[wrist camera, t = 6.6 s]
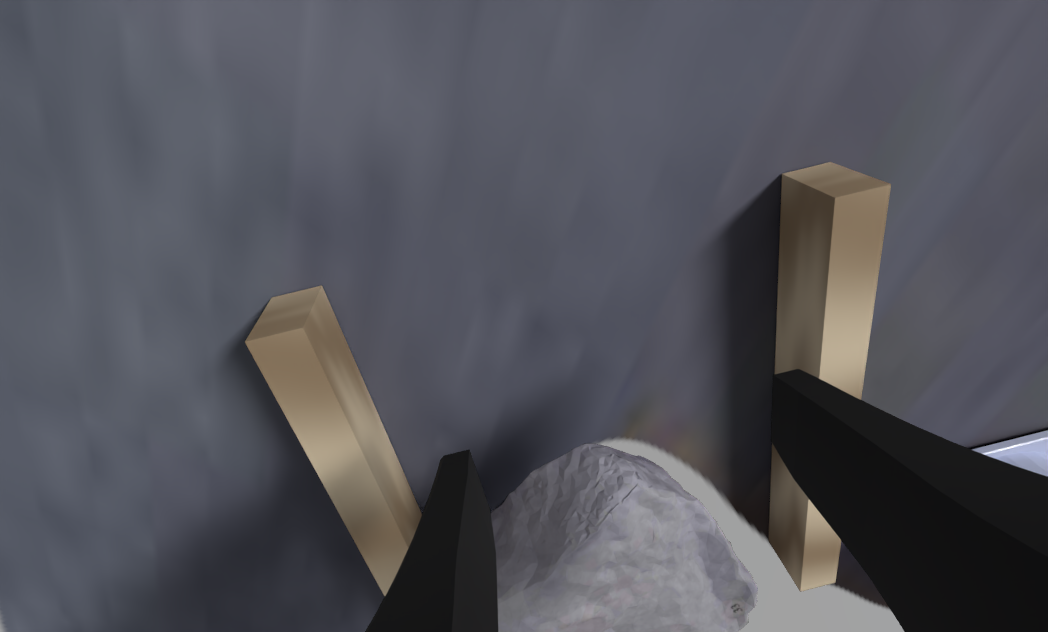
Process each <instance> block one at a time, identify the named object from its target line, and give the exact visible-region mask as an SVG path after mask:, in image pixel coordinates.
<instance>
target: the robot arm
mask: <svg viewBox="0 0 1048 632" xmlns="http://www.w3.org/2000/svg"><path fill="white" fill-rule="evenodd" d="M771 442H772V443H773V445H774V447H775V449H776V450H777V452H778V454H779V456H780V457H781V459H782V461H783V462H784V464H785V466H786V467H787V469H788V471H789V472H790V474H791V475H792V477H793V479H794V480H795V481H796V483H797V484H798V485H799V487H800V488H801V489H802V491H803V492H804V493H805V494H806V496H807V497H808V498H809V500H810V501H811V502H812V504H813V505H814V506H815V507H816V509H817V510H818V511H819V513H820V514H821V515H822V516H823V518H824V519H825V520H826V521H827V523H828V524H829V525H830V527H831V528H832V529H833V530H834V532H835V533H836V534H837V535H838V537H839V538H840V539H841V541H842V542H843V543H844V544H845V546H846V547H847V548H848V549H849V551H850V552H851V553H852V555H853V556H854V557H855V558H856V560H857V561H858V562H859V564H860V565H861V566H862V568H863V569H864V570H865V572H866V573H867V575H868V576H869V577H870V579H871V580H872V581H873V583H874V584H875V586H876V588H877V589H878V591H879V592H880V594H881V595H882V597H883V598H884V600H885V602H886V603H887V605H888V606H889V608H890V609H891V611H892V612H893V614H894V615H895V617H896V619H897V620H898V621H899V623H900V625H901V626H902V628H903V630H904V631H905V632H1048V430H1046V431H1042V432H1039V433H1035V434H1031V435H1027V436H1023V437H1019V438H1015V439H1011V440H1007V441H1003V442H999V443H995V444H991V445H987V446H983V447H979V448H976V449H972V450H971V449H968V448H966V447H963V446H961V445H958V444H956V443H953V442H951V441H948V440H946V439H944V438H942V437H939V436H937V435H935V434H932V433H930V432H928V431H925V430H923V429H921V428H919V427H916V426H914V425H912V424H910V423H908V422H905V421H903V420H901V419H899V418H897V417H895V416H893V415H891V414H888V413H886V412H884V411H882V410H880V409H878V408H876V407H874V406H872V405H870V404H868V403H866V402H864V401H862V400H860V399H858V398H856V397H854V396H852V395H850V394H848V393H846V392H844V391H842V390H840V389H838V388H837V387H835V386H833V385H831V384H829V383H827V382H825V381H823V380H821V379H819V378H817V377H815V376H813V375H811V374H809V373H807V372H805V371H803V370H800V369H795V370H791V371H787V372H783V373H779V374H775V375H773V389H772V422H771ZM365 632H498V598H497V566H496V549H495V541H494V534H493V527H492V520H491V513H490V508H489V505H488V503H487V500H486V497H485V494H484V491H483V488H482V485H481V482H480V479H479V476H478V473H477V470H476V467H475V464H474V462H473V459H472V456H471V453H470V450H466V451H462V452H457V453H453V454H449V455H445V456H443V458H442V459H441V460H440V463H439V467H438V470H437V474H436V477H435V480H434V483H433V486H432V489H431V492H430V495H429V498H428V501H427V504H426V506H425V509H424V512H423V514H422V517H421V519H420V522H419V524H418V527H417V529H416V532H415V534H414V537H413V539H412V541H411V544H410V546H409V548H408V550H407V552H406V555H405V557H404V559H403V561H402V563H401V565H400V568H399V570H398V572H397V574H396V576H395V578H394V580H393V582H392V584H391V586H390V588H389V590H388V592H387V594H386V596H385V598H384V599H383V601H382V603H381V605H380V607H379V608H378V610H377V612H376V614H375V616H374V617H373V619H372V621H371V623H370V624H369V626H368V628H367V629H366V631H365Z"/></svg>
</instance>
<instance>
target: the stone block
mask: <svg viewBox="0 0 1048 632" xmlns="http://www.w3.org/2000/svg"><path fill="white" fill-rule="evenodd" d="M491 520H492V527H493V534H494V541H495V549H496V566H497V598H498V632H738V631H739V630H740V629H742V628H743V627H744V626H745V625H746V624H747V623H748V622H749V619H748V613H749V612H750V611H751V610H752V609H753V608H754V607H755V605H756V603H757V591H758V588H757V585H756V583H755V581H754V580H753V577H752V576H751V574H750V573H749V571H748V570H747V569H746V568H745V566H744V565H743V564H742V563H741V561H740V560H739V559H738V558H737V556H736V554H735V553H734V552H733V549H732V545H731V543H730V542H729V541H728V540H727V539H726V537H725V535H724V533H723V531H722V530H721V529H720V527H719V526H718V524H717V522H716V521H715V520H714V518H713V517H712V516H711V515H710V513H709V512H708V510H707V509H706V508H705V506H704V505H703V504H702V503H701V502H700V501H699V500H698V499H697V498H695V497H694V496H692V495H691V494H689V493H687V492H686V491H685V490H683V488H682V487H681V485H680V484H679V483H678V482H676V481H675V480H674V479H673V478H671V477H670V475H669V474H668V473H667V472H666V471H665V470H664V469H663V468H662V467H660V466H658V465H656V464H655V463H654V462H652V461H650V460H648V459H646V458H644V457H642V456H639V455H638V456H635V455H631V454H628V453H626V452H623V451H620V450H617V449H614V448H611V447H607V446H603V445H598V444H583V445H581V446H579V447H577V448H574V449H572V450H571V451H570V452H568V453H567V454H565V455H563V456H561V457H559V458H557V459H555V460H553V461H551V462H549V463H547V464H544V465H543V466H541V467H540V468H538V469H536V470H534V471H532V472H531V473H530V475H529V476H528V477H527V478H526V479H525V480H524V481H523V482H522V483H521V484H520V486H519V487H518V488H516V489H515V491H513V492H511V493H510V494H509V495H508V496H507V498H506V500H505V501H504V503H503V504H502V505H501V506H500V507H498V508H497V509H495V510H494V511H493V512H492V513H491Z"/></svg>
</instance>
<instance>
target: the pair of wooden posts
mask: <svg viewBox="0 0 1048 632" xmlns="http://www.w3.org/2000/svg"><path fill="white" fill-rule="evenodd" d="M890 188H891V184H889V183H886V182H884V181H881V180H878V179H875V178H873V177H870V176H867V175H864V174H862V173H859V172H856V171H853V170H851V169H848V168H845V167H843V166H840V165H837V164H834V163H832V162H829V163H825V164H821V165H816V166H812V167H808V168H804V169H800V170H796V171H792V172H788V173H783V174H782V189H781V216H780V243H779V270H778V297H777V325H776V352H775V374H779V373H783V372H787V371H791V370H795V369H800V370H803V371H805V372H807V373H809V374H811V375H813V376H815V377H817V378H819V379H821V380H823V381H825V382H827V383H829V384H831V385H833V386H835V387H837V388H838V389H840V390H842V391H844V392H846V393H848V394H850V395H852V396H854V397H856V398H858V399H860V400H861V396H862V388H863V381H864V374H865V367H866V360H867V353H868V345H869V338H870V331H871V324H872V317H873V310H874V302H875V295H876V288H877V281H878V274H879V267H880V259H881V252H882V245H883V238H884V231H885V224H886V216H887V209H888V202H889V195H890ZM245 343H246V345H247V347H248V349H249V351H250V352H251V354H252V356H253V358H254V360H255V361H256V363H257V365H258V367H259V369H260V371H261V372H262V374H263V376H264V378H265V380H266V381H267V383H268V385H269V387H270V389H271V391H272V392H273V394H274V396H275V398H276V400H277V401H278V403H279V405H280V407H281V409H282V411H283V412H284V414H285V416H286V418H287V420H288V421H289V423H290V425H291V427H292V429H293V431H294V432H295V434H296V436H297V438H298V440H299V442H300V443H301V445H302V447H303V449H304V451H305V452H306V454H307V456H308V458H309V460H310V462H311V463H312V465H313V467H314V469H315V471H316V472H317V474H318V476H319V478H320V480H321V482H322V483H323V485H324V487H325V489H326V491H327V492H328V494H329V496H330V498H331V500H332V502H333V503H334V505H335V507H336V509H337V511H338V512H339V514H340V516H341V518H342V520H343V522H344V523H345V525H346V527H347V529H348V531H349V532H350V534H351V536H352V538H353V540H354V542H355V543H356V545H357V547H358V549H359V551H360V553H361V554H362V556H363V558H364V560H365V562H366V563H367V565H368V567H369V569H370V571H371V573H372V574H373V576H374V578H375V580H376V582H377V583H378V585H379V587H380V589H381V591H382V593H383V594H384V596H386V594H387V592H388V590H389V588H390V586H391V584H392V582H393V580H394V578H395V576H396V574H397V572H398V570H399V568H400V565H401V563H402V561H403V559H404V557H405V555H406V552H407V550H408V548H409V546H410V544H411V541H412V539H413V537H414V534H415V532H416V529H417V527H418V524H419V522H420V519H421V517H422V513H421V511H420V509H419V507H418V504H417V502H416V500H415V497H414V495H413V493H412V491H411V488H410V486H409V484H408V481H407V479H406V477H405V475H404V472H403V470H402V468H401V465H400V463H399V461H398V459H397V456H396V454H395V452H394V449H393V447H392V445H391V443H390V440H389V438H388V436H387V433H386V431H385V429H384V427H383V424H382V422H381V420H380V417H379V415H378V413H377V410H376V408H375V406H374V404H373V401H372V399H371V397H370V394H369V392H368V390H367V388H366V385H365V383H364V381H363V378H362V376H361V374H360V372H359V369H358V367H357V365H356V362H355V360H354V358H353V356H352V353H351V351H350V349H349V346H348V344H347V342H346V340H345V337H344V335H343V333H342V330H341V328H340V326H339V324H338V321H337V319H336V317H335V314H334V312H333V310H332V308H331V305H330V303H329V301H328V298H327V296H326V294H325V292H324V289H323V287H322V286H318V287H314V288H310V289H306V290H301V291H297V292H293V293H289V294H285V295H281V296H277V297H273V298H271V300H270V301H269V303H268V305H267V306H266V308H265V310H264V311H263V313H262V314H261V316H260V318H259V319H258V321H257V323H256V324H255V326H254V328H253V329H252V331H251V333H250V334H249V336H248V337H247V339H246V341H245ZM769 543H770V544H771V546H772V547H773V549H774V550H775V552H776V553H777V555H778V557H779V558H780V560H781V561H782V563H783V565H784V566H785V568H786V570H787V571H788V573H789V574H790V576H791V577H792V579H793V581H794V582H795V584H796V586H797V587H798V589H799V590H800V592H801V591H805V590H809V589H813V588H817V587H821V586H824V585H828V584H832V583H835V582H836V575H837V567H838V560H839V553H840V546H841V539H840V538H839V537H838V535H837V534H836V533H835V532H834V530H833V529H832V528H831V527H830V525H829V524H828V523H827V521H826V520H825V519H824V518H823V516H822V515H821V514H820V513H819V511H818V510H817V509H816V507H815V506H814V505H813V504H812V502H811V501H810V500H809V498H808V497H807V496H806V494H805V493H804V492H803V491H802V489H801V488H800V487H799V485H798V484H797V483H796V481H795V480H794V479H793V477H792V475H791V474H790V472H789V471H788V469H787V467H786V466H785V464H784V462H783V461H782V459H781V457H780V456H779V454H778V452H777V450H776V449H775V447H774V445H773V443H772V460H771V488H770V515H769Z"/></svg>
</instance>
